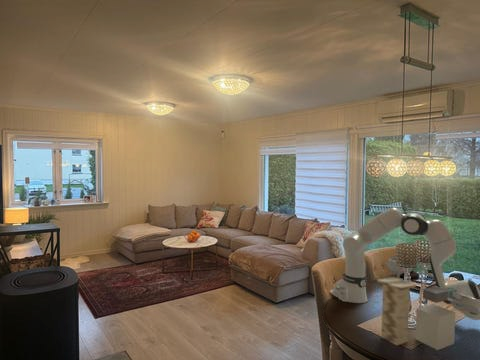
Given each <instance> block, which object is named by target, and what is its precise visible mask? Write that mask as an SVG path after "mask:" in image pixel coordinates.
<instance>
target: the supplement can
mask: <svg viewBox="0 0 480 360" xmlns="http://www.w3.org/2000/svg"><path fill="white" fill-rule="evenodd" d="M427 269H428V277H427V278H431V277H432V278H433V279H434V276H433V273H432V269H431V266H428V268H427ZM432 278H431V279H432Z"/></svg>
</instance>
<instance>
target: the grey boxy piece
mask: <svg viewBox="0 0 480 360" xmlns="http://www.w3.org/2000/svg"><path fill="white" fill-rule="evenodd" d="M451 291H453V292H455V293H457V289H455V288H447V289H441V288H438V287H433V286H431V287H427V288H424V289H422V299H424V300H427V301H430V302H433V303H435V304H438V303H441V302H443V301H445V300H447V298H448V297H451V295H450V293H451Z"/></svg>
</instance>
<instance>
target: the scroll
mask: <svg viewBox="0 0 480 360" xmlns="http://www.w3.org/2000/svg"><path fill="white" fill-rule="evenodd" d="M400 276H401V277H404V273H402V274H401V275H400ZM410 276H411V278H410V279H411V280H413V279H415V278H419V277H420V276H421V275H420V273H418V271H415V270H412V271H411V272H410Z"/></svg>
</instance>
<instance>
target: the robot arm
mask: <svg viewBox="0 0 480 360" xmlns="http://www.w3.org/2000/svg"><path fill="white" fill-rule="evenodd" d="M398 228H401V230H402V231H403V232H404V233H405V234H407V235H411V236H425V238H426V240H427V241H428V243H429V246H430V249H431V251H430V254H429V261H430V265H431V269H432V273H433V276H434V278H433V279H434V283H435V285H433V286H432V287H438V288H441V289H447V288H455V289H457V293H455V292H453V291H451V293H450V295H451V297H448V298H447V300H445V301H442V302H443V303H445V304H447V305H451V306H452V307H453V308H454V309H455V310H456V311H457V312H459V313H461V314H463V316H465V317H466V318H468V319H470V320H473V321H480V287H479V285H478V284H477V283H476V282H474V281H473V280H472V279H463V280H462V279H461V280H457V281H453V282H447V281H446V279H445V276H444V271H443V269H442V265H443V263H444V262H446V261H447V260H448V259H450V258H451V257H453V255H454V254H455V253H456V251H457V243H456V241H455V239H454V238H453V235H452V234H451V232H450V230H449V229H448V227H447V225H445V223H444V222H443V221H442V220H440V219H430V220H426V217H425V216H424V215H423V214H422V213H420V212H416V211H412V212H404V213H403V212H402V211H401V210H400V209H398V208H396V207H391V208H388V209H386V210H385V211H382V212H381V213H379V214H378V215H376V216H375V217H373V218H372V219H370V220H369V221H368V222H366V223H365V224H364V225H362V226H360V227H358V229H356V230H355V231H354V232H352V233H350V234H348V235H347V236H346V237H345V238H344V239H343V243H342V246H343V249H344V257H345V258H344V259H345V271H344V273H342V274H341V276H343V277H342V278H341V279H340V280H338V281H336V282H335V283H334V287H333V288H331V289H330V291H329V293H330V294H331V295H333V296H334V297H336V298H337V297H338V298H337V299H339V300H340V301H342V302H344V303H346V302H348V303H353V304H364V303H367V302H368V298H367V288H366V282H367V275H366V266H367V265H366V264H367V263H366V259H365V249H366V248H367V247H369V246H370V245H372V244H373V243H375V242H377V241H379V240H380V239H382V238H384V237H385V236H386V235H388V234H389V233H391V232H392V231H394V230H396V229H398Z"/></svg>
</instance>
